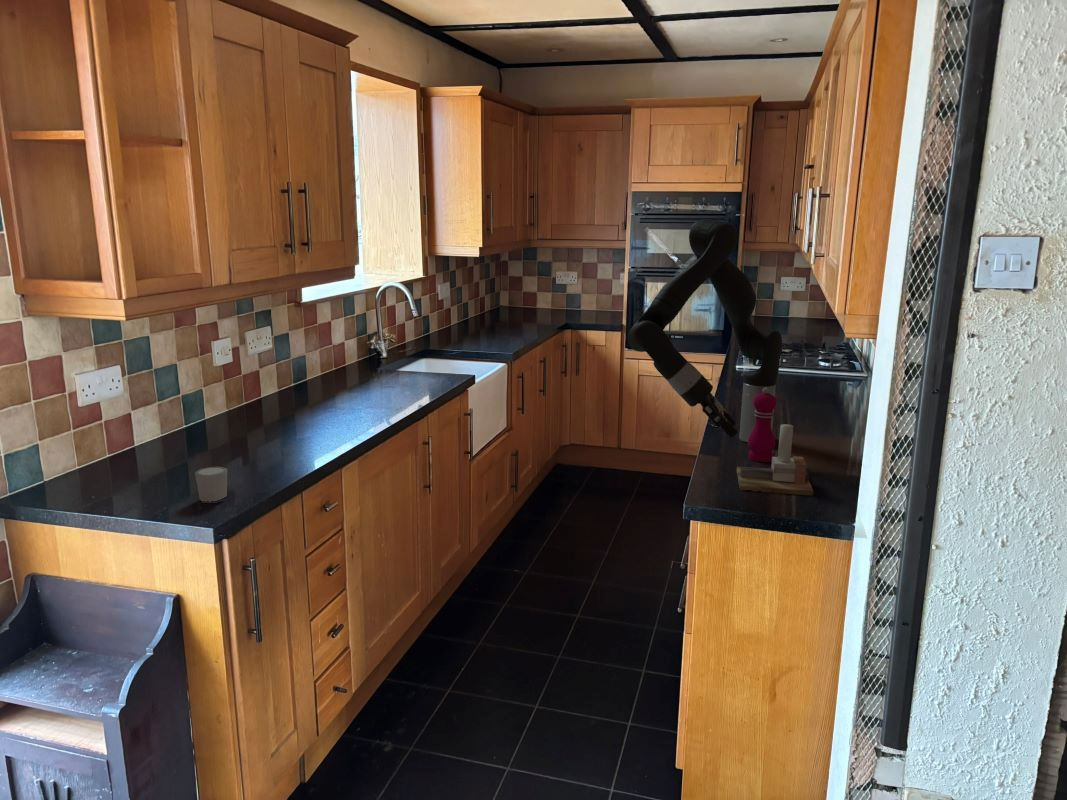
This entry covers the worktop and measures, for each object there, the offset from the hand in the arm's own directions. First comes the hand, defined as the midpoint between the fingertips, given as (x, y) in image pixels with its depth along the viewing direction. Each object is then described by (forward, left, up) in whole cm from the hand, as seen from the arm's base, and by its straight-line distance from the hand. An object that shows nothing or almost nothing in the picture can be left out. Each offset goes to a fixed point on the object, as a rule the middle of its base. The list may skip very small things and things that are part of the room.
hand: (733, 430), depth 196 cm
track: (+2, +10, -12) cm, 16 cm away
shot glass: (+44, -117, -13) cm, 126 cm away
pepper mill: (-18, +9, -13) cm, 24 cm away
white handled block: (+2, +12, -11) cm, 17 cm away
